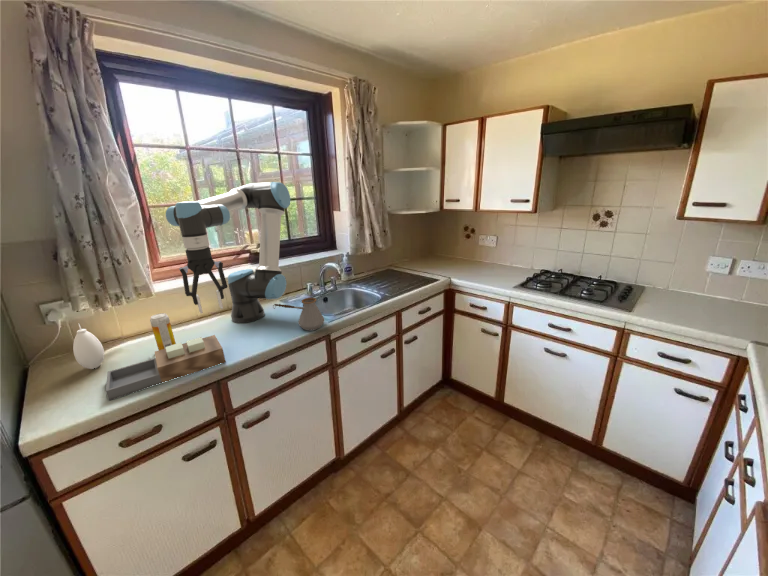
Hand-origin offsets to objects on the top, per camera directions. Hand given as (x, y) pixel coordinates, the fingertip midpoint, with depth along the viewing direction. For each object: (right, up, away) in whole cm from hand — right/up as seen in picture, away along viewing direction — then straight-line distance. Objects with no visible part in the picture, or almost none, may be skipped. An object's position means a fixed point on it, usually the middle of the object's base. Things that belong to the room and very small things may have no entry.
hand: (211, 309), depth 120 cm
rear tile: (-5, -14, 0) cm, 15 cm away
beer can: (-23, -17, +12) cm, 31 cm away
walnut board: (-7, -20, 0) cm, 21 cm away
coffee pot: (+27, -11, +25) cm, 38 cm away
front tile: (-11, -15, -4) cm, 19 cm away
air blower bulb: (-44, -22, +1) cm, 49 cm away
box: (-21, -24, -9) cm, 33 cm away
